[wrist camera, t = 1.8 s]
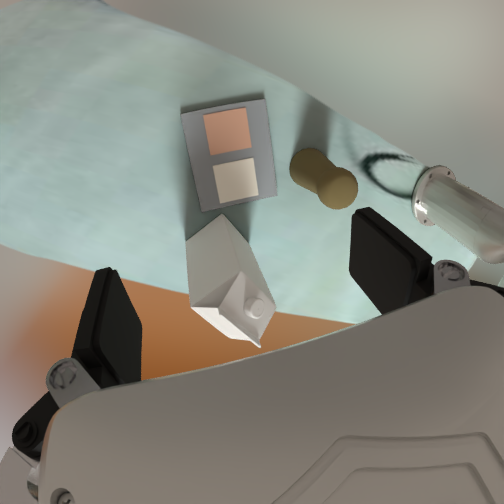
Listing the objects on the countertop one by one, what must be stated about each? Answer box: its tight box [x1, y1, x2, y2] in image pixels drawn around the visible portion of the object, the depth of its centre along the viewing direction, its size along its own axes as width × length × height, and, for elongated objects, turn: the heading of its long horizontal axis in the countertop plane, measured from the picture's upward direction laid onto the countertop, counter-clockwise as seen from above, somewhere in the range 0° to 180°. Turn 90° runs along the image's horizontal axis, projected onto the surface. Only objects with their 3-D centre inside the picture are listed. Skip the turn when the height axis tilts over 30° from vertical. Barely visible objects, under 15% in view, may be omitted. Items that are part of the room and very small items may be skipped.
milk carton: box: [185, 214, 276, 348], centre depth 38 cm, size 7×7×19 cm
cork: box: [289, 148, 358, 209], centre depth 38 cm, size 6×6×11 cm
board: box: [181, 99, 277, 212], centre depth 39 cm, size 11×14×1 cm
